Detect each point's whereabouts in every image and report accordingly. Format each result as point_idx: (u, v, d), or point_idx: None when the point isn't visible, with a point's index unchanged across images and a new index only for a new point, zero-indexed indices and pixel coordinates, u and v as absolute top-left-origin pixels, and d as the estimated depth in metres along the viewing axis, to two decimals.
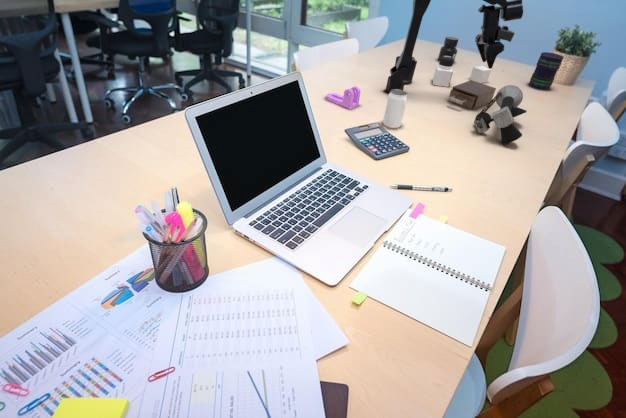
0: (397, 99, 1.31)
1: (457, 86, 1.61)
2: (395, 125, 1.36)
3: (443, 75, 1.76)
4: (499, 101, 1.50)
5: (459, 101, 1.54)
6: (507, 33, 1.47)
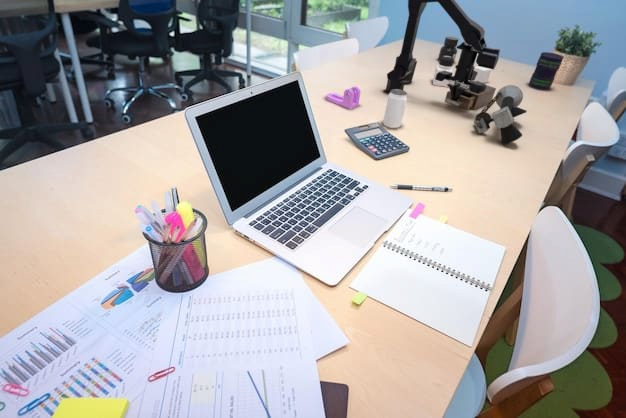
0: (397, 99, 1.31)
1: None
2: (395, 125, 1.36)
3: None
4: (499, 101, 1.50)
5: (456, 102, 1.52)
6: (475, 73, 1.50)
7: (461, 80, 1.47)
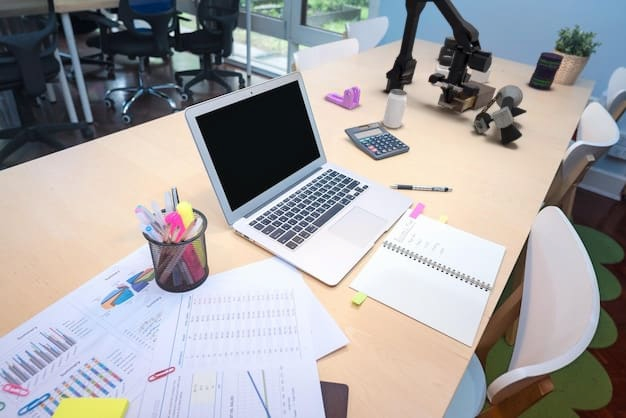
0: (397, 99, 1.31)
1: None
2: (395, 125, 1.36)
3: None
4: (499, 101, 1.50)
5: (449, 105, 1.49)
6: (469, 75, 1.47)
7: (454, 83, 1.44)
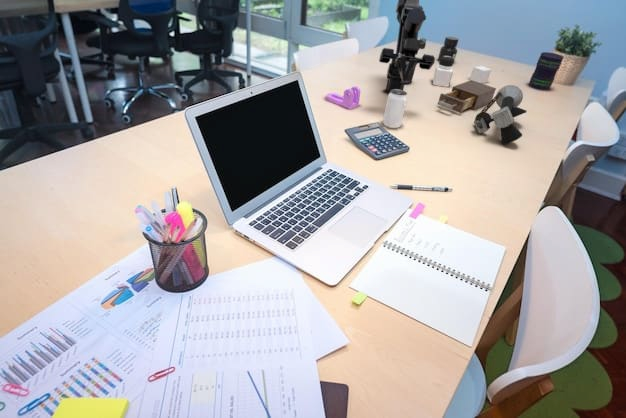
0: (397, 99, 1.31)
1: (457, 86, 1.61)
2: (395, 125, 1.36)
3: (443, 75, 1.76)
4: (499, 101, 1.50)
5: (449, 105, 1.49)
6: (405, 41, 1.34)
7: None
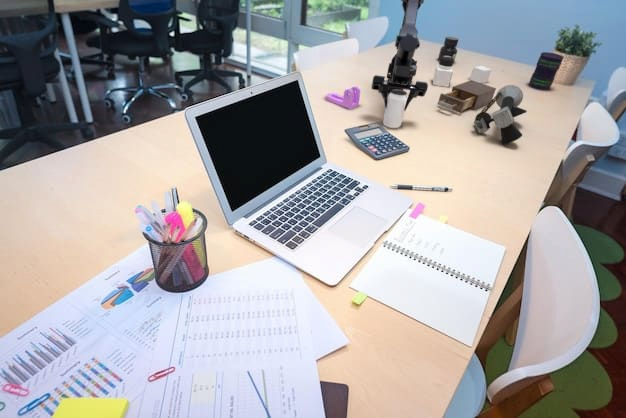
0: (397, 99, 1.31)
1: (457, 86, 1.61)
2: (395, 125, 1.36)
3: (443, 75, 1.76)
4: (499, 101, 1.50)
5: (449, 105, 1.49)
6: None
7: None
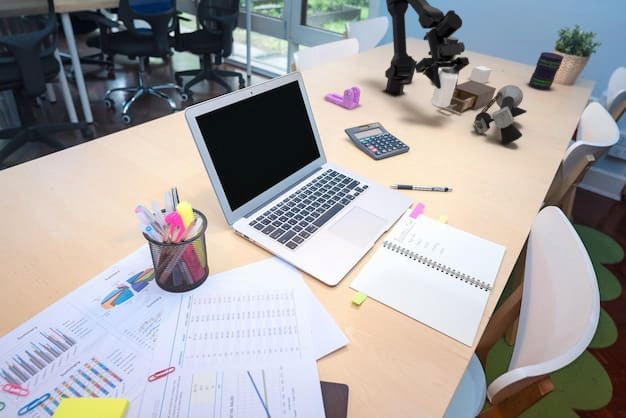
0: (453, 78, 1.32)
1: (457, 86, 1.61)
2: (448, 104, 1.38)
3: None
4: (499, 101, 1.50)
5: (449, 105, 1.49)
6: (444, 47, 1.30)
7: None
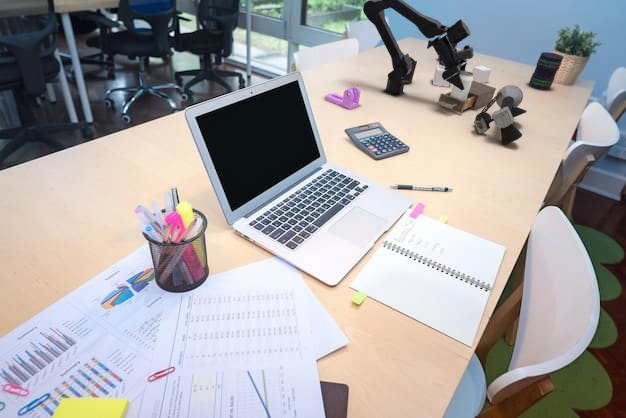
0: (472, 79, 1.50)
1: None
2: None
3: None
4: (499, 101, 1.50)
5: (449, 105, 1.49)
6: (463, 53, 1.45)
7: None
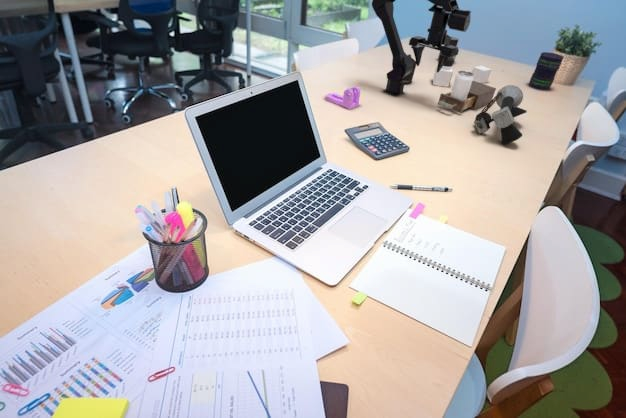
0: (472, 79, 1.50)
1: None
2: None
3: (443, 75, 1.76)
4: (499, 101, 1.50)
5: (449, 105, 1.49)
6: (448, 37, 1.49)
7: (433, 44, 1.45)
